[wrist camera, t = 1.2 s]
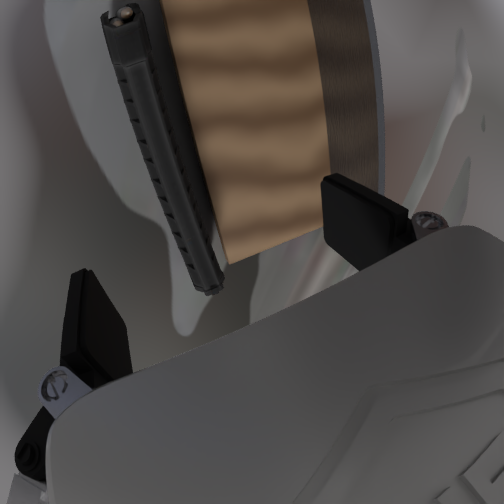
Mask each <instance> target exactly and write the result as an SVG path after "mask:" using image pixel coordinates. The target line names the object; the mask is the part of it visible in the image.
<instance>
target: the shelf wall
mask: <svg viewBox="0 0 504 504" xmlns="http://www.w3.org/2000/svg"><path fill="white" fill-rule="evenodd" d="M307 3H308V8H309V12H310V17H311V23H312V28H313V33H314V39H315V45H316V51H317V57H318V63H319V70H320V77H321V84H322V92H323V100H324V108H325V117H326V126H327V136H328V147H329V159H330V173H331V174H334V173H339V174H341V175H343V176H345V177H347V178H349V179H351V180H353V181H355V182H357V183H359V184H361V185H363V186H365V187H367V188H369V189H371V190H373V191H375V192H377V193H379V194H381V195H383V196H384V188H385V187H384V186H385V126H384V104H383V90H382V80H381V79H382V78H381V68H380V59H379V51H378V44H377V36H376V29H375V23H374V17H373V13H372V7H371V2H370V0H307Z"/></svg>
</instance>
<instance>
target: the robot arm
mask: <svg viewBox="0 0 504 504" xmlns="http://www.w3.org/2000/svg"><path fill="white" fill-rule="evenodd" d="M320 187H321V200H322V213H323V229H324V239H325V241H326V243H327V244H328V245H329V246H330V247H331V248H332V249H334V250H335V251H336V252H337V253H338V254H340V255H341V256H342V257H343V258H344V259H346V260H347V261H348V262H349V263H350V264H352V265H353V266H354V267H355V268H356V269H357V270H359V272H358V273H356V274H354V275H352V276H350V277H348V278H346V279H344V280H342V281H340V282H338V283H336V284H334V285H332V286H330V287H328V288H327V289H325V290H323V291H321V292H319V293H316V294H314V295H312V296H310V297H308V298H306V299H304V300H302V301H300V302H298V303H296V304H294V305H292V306H290V307H288V308H285V309H283V310H281V311H279V312H277V313H275V314H273V315H270V316H268V317H266V318H264V319H262V320H259V321H257V322H255V323H253V324H251V325H248V326H246V327H244V328H242V329H239V330H237V331H235V332H232V333H230V334H228V335H226V336H223V337H221V338H218V339H216V340H214V341H211V342H209V343H207V344H204V345H202V346H200V347H197V348H195V349H192V350H190V351H187V352H185V353H182V354H180V355H177V356H175V357H172V358H170V359H168V360H165V361H162V362H160V363H157V364H155V365H152V366H149V367H147V368H144V369H142V370H139V371H137V372H134V373H133V370H132V364H131V357H130V351H129V343H128V336H127V328H126V325H125V323H124V321H123V319H122V318H121V316H120V314H119V313H118V311H117V310H116V308H115V307H114V305H113V304H112V302H111V301H110V299H109V297H108V296H107V294H106V293H105V291H104V289H103V288H102V286H101V285H100V283H99V281H98V279H97V277H96V276H95V274H94V272H93V271H92V270H89V271H88V270H86V269H85V268H84V269H82V270H79V271H77V272H75V273H73V274H71V279H70V285H69V290H68V297H67V304H66V311H65V317H64V323H63V332H62V342H61V354H60V366H58V367H54V368H52V369H51V370H49V371H48V372H47V373H46V374H45V375H44V376H43V377H42V379H41V381H40V383H39V386H38V398H39V400H40V401H41V403H42V404H43V407H42V408H41V409H40V411H39V412H38V414H37V416H36V417H35V418H34V420H33V421H32V423H31V424H30V426H29V427H28V429H27V430H26V432H25V434H24V435H23V437H22V438H21V440H20V441H19V443H18V445H17V447H16V451H15V463H16V466H17V468H18V470H19V475H17V474H14V478H13V481H12V485H11V489H10V493H9V497H8V501H7V504H504V242H503V241H501V240H500V239H498V238H497V237H495V236H493V235H492V234H490V233H488V232H486V231H484V230H482V229H480V228H478V227H475V226H469V225H468V226H467V225H465V226H464V225H462V226H453V227H449V226H448V223H447V221H446V220H445V219H444V218H443V217H442V216H440V215H438V214H436V213H433V212H428V211H421V212H417V213H415V214H413V216H412V219H409V218H408V211H409V210H408V209H406V208H405V207H403V206H401V205H399V204H397V203H395V202H394V201H392V200H390V199H388V198H386V197H385V196H383V195H381V194H379V193H377V192H375V191H373V190H371V189H369V188H367V187H365V186H363V185H361V184H359V183H357V182H355V181H353V180H351V179H349V178H347V177H345V176H343V175H341V174H339V173H334V174H331V175H328V176H325V177H324V178H323V181H321V183H320Z"/></svg>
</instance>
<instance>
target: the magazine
mask: <svg viewBox="0 0 504 504" xmlns="http://www.w3.org/2000/svg"><path fill="white" fill-rule="evenodd" d="M108 13H109V11H107V12H105V13H104V14H102V16H101V17H100V18H101V23H102V28H103V32H104V36H105V39H106V43H107V47H108V50H109V54H110V58H111V61H112V64H113V66H114V69H115V73H116V76H117V79H118V80H117V81H118V84H119V86H120V89H121V92H122V95H123V99H124V103H125V105H126V108H127V111H128V114H129V117H130V121H131V123H132V126H133V129H134V132H135V135H136V138H137V142H138V144H139V146H140V149H141V152H142V155H143V159H144V162H145V163H146V166H147V169H148V171H149V174H150V177H151V180H152V182H153V185H154V187H155V190H156V193H157V195H158V199H159V200H160V203H161V206H162V208H163V211H164V214H165V216H166V218H167V221H168V223H169V226H170V228H171V231H172V234H173V235H174V238H175V240H176V243H177V245H178V248H179V250H180V252H181V255H182V257H183V259H184V262H185V265H186V267H187V269H188V272H189V274H190V277H191V279H192V282H193V285H194V287H195V289H196V290H197V291H201V292H204V293H205V295H206V296H209V295H215V294H218V293H219V291H220V290H222V289H223V288H224V287H223V284H222V283H223V281H224V279H225V277H224V274H223V272H222V271H221V269H220V266H219V264H218V261H217V259H216V256H215V253H214V251H213V248H212V245H211V243H210V240H209V236H208V234H207V232H206V229H205V226H204V223H203V220H202V218H201V215H200V212H199V209H198V206H197V202H196V200H195V197H194V194H193V191H192V189H191V184H190V182H189V179H188V176H187V173H186V170H185V166H184V164H183V161H182V158H181V155H180V151H179V147H178V145H177V142H176V138H175V135H174V132H173V127H172V125H171V122H170V118H169V115H168V111H167V106H166V104H165V101H164V97H163V93H162V88H161V86H160V82H159V79H158V75H157V71H156V70H157V69H156V67H155V63H154V59H153V55H152V51H151V50H152V49H151V44H150V40H149V36H148V32H147V27H146V23H145V19H144V14H143V12H142V11H141V10H140V7H139V5H138V4H136V3H132V4H127V5H126V7H124V8H121V9H119V10H118V11H117V13H116V17H113V18H110V19H108Z"/></svg>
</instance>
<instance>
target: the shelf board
mask: <svg viewBox="0 0 504 504" xmlns="http://www.w3.org/2000/svg"><path fill="white" fill-rule="evenodd" d="M159 2H160V6H161V11H162V15H163V20H164V24H165V29H166V33H167V37H168V42H169V46H170V50H171V55H172V59H173V63H174V67H175V71H176V75H177V79H178V83H179V88H180V92H181V96H182V100H183V104H184V108H185V111H186V115H187V119H188V123H189V127H190V131H191V135H192V139H193V142H194V146H195V150H196V154H197V157H198V161H199V165H200V169H201V172H202V176H203V180H204V183H205V187H206V191H207V194H208V198H209V201H210V205H211V209H212V212H213V216H214V219H215V223H216V226H217V230H218V233H219V237H220V240H221V244H222V247H223V251H224V254H225V257H226V260H227V261H228V263H229V264H232V263H235V262H237V261H239V260H242V259H244V258H247V257H249V256H252V255H254V254H257V253H259V252H261V251H264V250H266V249H269V248H271V247H274V246H276V245H279V244H281V243H283V242H286V241H288V240H291V239H293V238H296V237H298V236H301V235H303V234H305V233H308V232H310V231H313V230H315V229H318V228H320V227H322V226H323V213H322V200H321V187H320V183H321V181H323V178H324V177H325V176H328V175H331V173H330V159H329V147H328V136H327V126H326V117H325V108H324V100H323V92H322V84H321V77H320V70H319V63H318V57H317V51H316V45H315V39H314V33H313V28H312V23H311V17H310V12H309V8H308V3H307V0H159Z"/></svg>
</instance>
